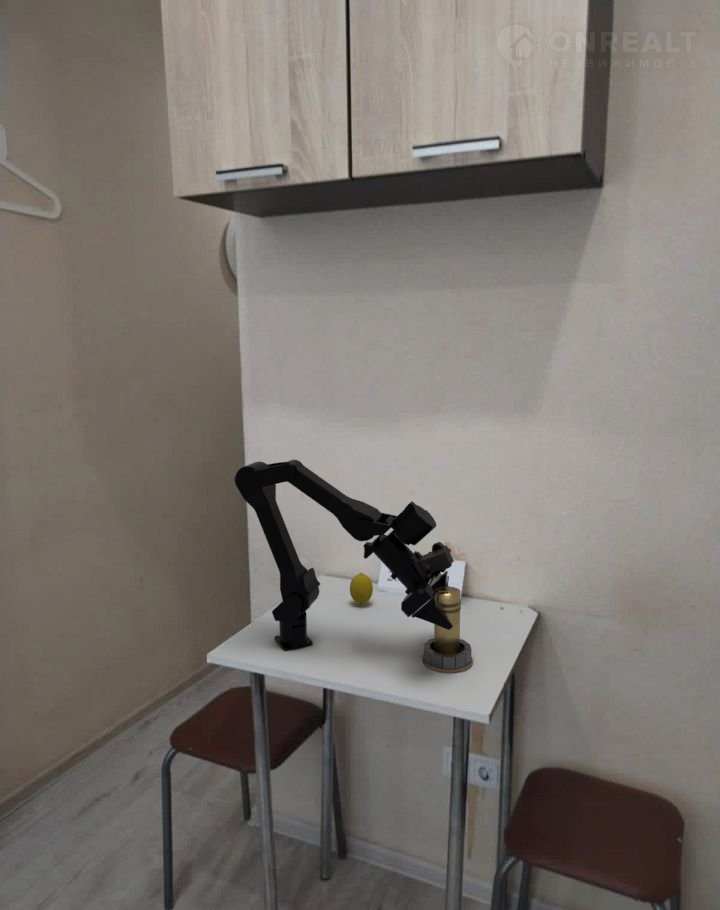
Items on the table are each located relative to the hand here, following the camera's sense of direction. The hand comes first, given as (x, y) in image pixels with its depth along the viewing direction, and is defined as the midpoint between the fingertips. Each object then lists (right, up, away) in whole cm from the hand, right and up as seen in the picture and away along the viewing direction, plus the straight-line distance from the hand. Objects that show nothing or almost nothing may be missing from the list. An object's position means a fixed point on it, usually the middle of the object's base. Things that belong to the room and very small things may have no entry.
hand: (454, 618), depth 130 cm
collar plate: (-1, -9, +2) cm, 9 cm away
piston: (-1, -8, +2) cm, 9 cm away
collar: (-1, -9, +2) cm, 9 cm away
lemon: (-18, -4, +31) cm, 36 cm away
